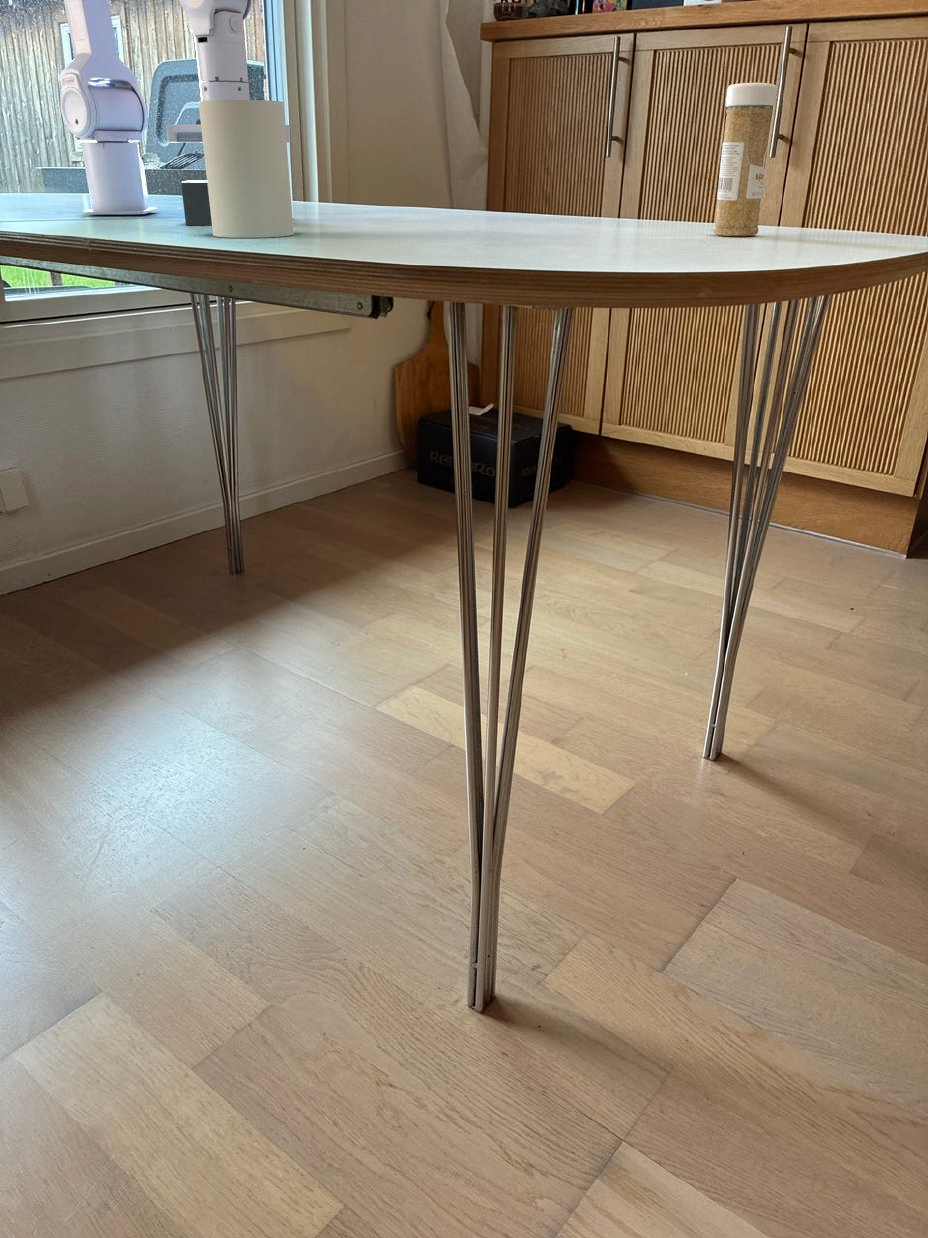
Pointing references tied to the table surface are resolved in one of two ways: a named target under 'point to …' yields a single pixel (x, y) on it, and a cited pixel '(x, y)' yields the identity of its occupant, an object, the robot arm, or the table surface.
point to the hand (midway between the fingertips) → (236, 207)
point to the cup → (247, 168)
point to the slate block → (196, 202)
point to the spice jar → (743, 158)
